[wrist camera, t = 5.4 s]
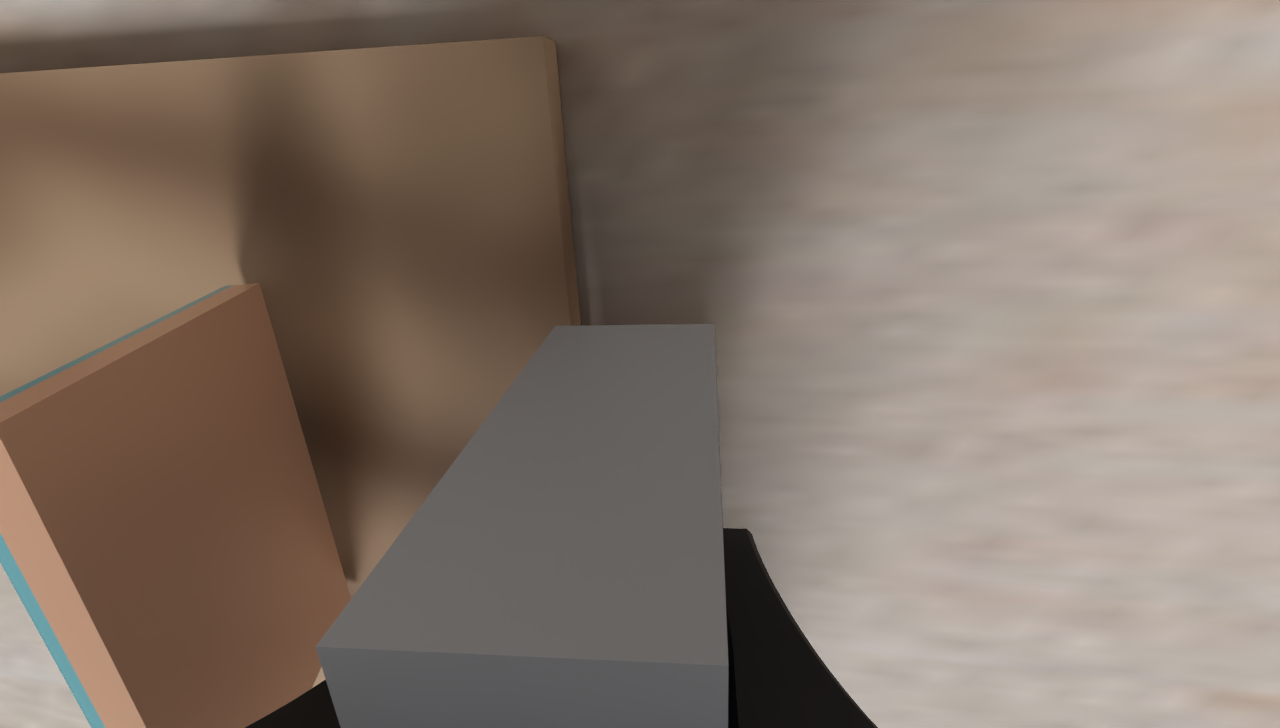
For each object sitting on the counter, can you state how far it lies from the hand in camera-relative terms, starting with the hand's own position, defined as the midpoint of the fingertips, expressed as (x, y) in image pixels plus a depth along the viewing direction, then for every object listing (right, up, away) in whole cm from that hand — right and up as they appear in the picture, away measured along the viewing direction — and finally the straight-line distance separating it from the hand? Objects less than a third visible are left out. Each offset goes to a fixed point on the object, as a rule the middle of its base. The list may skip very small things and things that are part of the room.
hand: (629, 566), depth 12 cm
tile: (-9, 0, +1) cm, 9 cm away
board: (-10, +2, +6) cm, 12 cm away
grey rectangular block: (0, +1, +3) cm, 3 cm away
